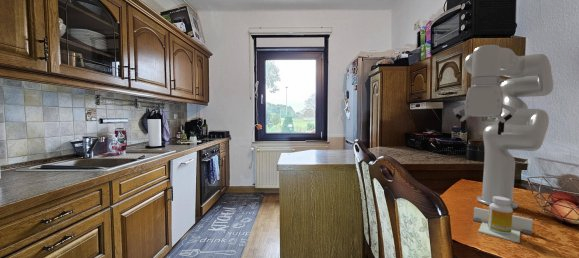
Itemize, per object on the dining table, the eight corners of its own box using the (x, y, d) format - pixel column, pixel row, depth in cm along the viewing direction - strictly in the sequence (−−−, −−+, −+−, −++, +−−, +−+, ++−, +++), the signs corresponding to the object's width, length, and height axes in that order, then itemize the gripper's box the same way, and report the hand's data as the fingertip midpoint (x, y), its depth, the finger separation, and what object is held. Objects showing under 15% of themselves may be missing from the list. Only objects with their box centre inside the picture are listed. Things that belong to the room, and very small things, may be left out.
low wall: (474, 218, 86) (475, 206, 86) (531, 231, 76) (532, 218, 76) (472, 220, 84) (473, 208, 84) (531, 234, 74) (532, 221, 74)
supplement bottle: (515, 235, 73) (518, 201, 72) (495, 233, 73) (497, 200, 73) (502, 227, 78) (505, 195, 77) (483, 225, 79) (485, 194, 78)
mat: (482, 223, 82) (482, 222, 82) (520, 232, 76) (520, 231, 76) (478, 232, 75) (478, 230, 75) (519, 242, 69) (519, 241, 69)
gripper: (519, 82, 84) (515, 135, 84) (456, 86, 95) (454, 131, 96) (518, 80, 78) (514, 135, 79) (452, 83, 90) (449, 132, 91)
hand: (481, 133), depth 88 cm, fingers open, 9 cm apart
